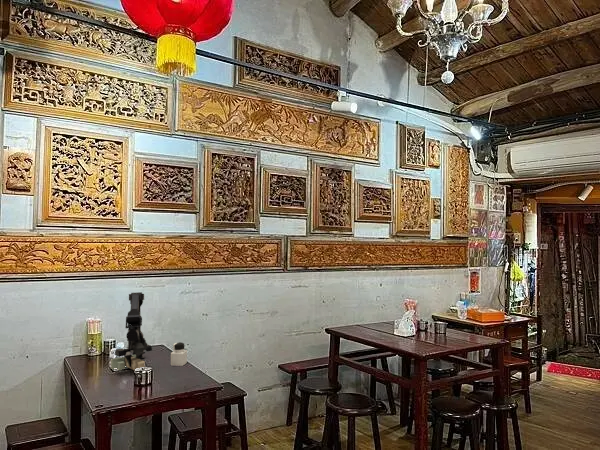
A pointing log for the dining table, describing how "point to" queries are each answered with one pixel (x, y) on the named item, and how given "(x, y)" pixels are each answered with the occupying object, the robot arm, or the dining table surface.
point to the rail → (134, 363)
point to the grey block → (118, 363)
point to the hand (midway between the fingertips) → (133, 366)
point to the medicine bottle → (178, 355)
